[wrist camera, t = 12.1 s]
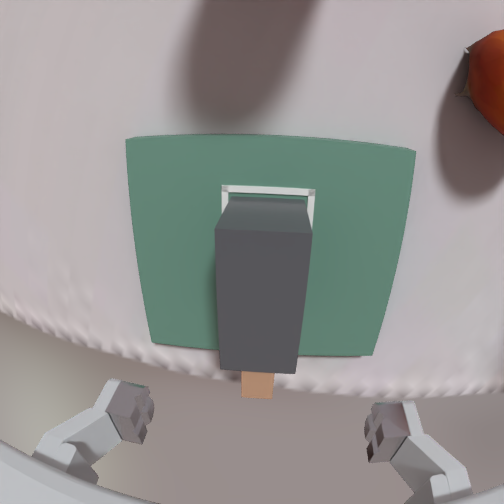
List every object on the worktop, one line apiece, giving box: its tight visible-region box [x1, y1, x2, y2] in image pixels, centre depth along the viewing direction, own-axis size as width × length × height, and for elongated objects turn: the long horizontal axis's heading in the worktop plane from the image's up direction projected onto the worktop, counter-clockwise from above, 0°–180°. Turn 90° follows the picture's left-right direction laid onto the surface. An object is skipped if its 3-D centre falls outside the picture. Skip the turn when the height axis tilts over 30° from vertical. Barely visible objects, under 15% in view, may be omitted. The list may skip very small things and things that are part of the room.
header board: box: [126, 134, 416, 356], centre depth 20 cm, size 18×16×6 cm
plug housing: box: [214, 196, 313, 399], centre depth 19 cm, size 4×12×6 cm, turn 179°
